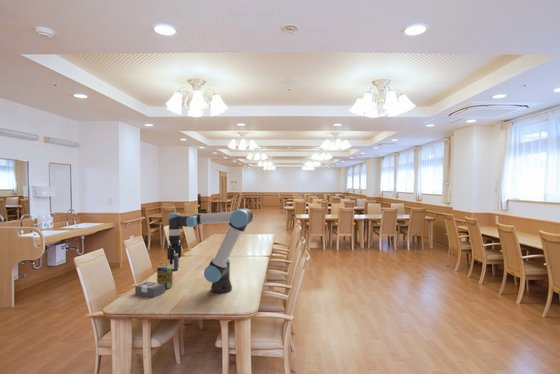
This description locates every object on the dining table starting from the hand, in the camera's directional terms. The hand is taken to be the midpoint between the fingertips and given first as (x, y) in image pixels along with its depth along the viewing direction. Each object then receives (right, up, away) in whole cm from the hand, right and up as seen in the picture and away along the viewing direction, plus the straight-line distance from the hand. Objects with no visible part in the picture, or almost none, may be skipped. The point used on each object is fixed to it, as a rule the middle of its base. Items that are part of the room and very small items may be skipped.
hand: (174, 267), depth 231 cm
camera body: (-17, -18, -1) cm, 25 cm away
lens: (0, -2, 0) cm, 2 cm away
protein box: (-13, -18, +18) cm, 28 cm away
